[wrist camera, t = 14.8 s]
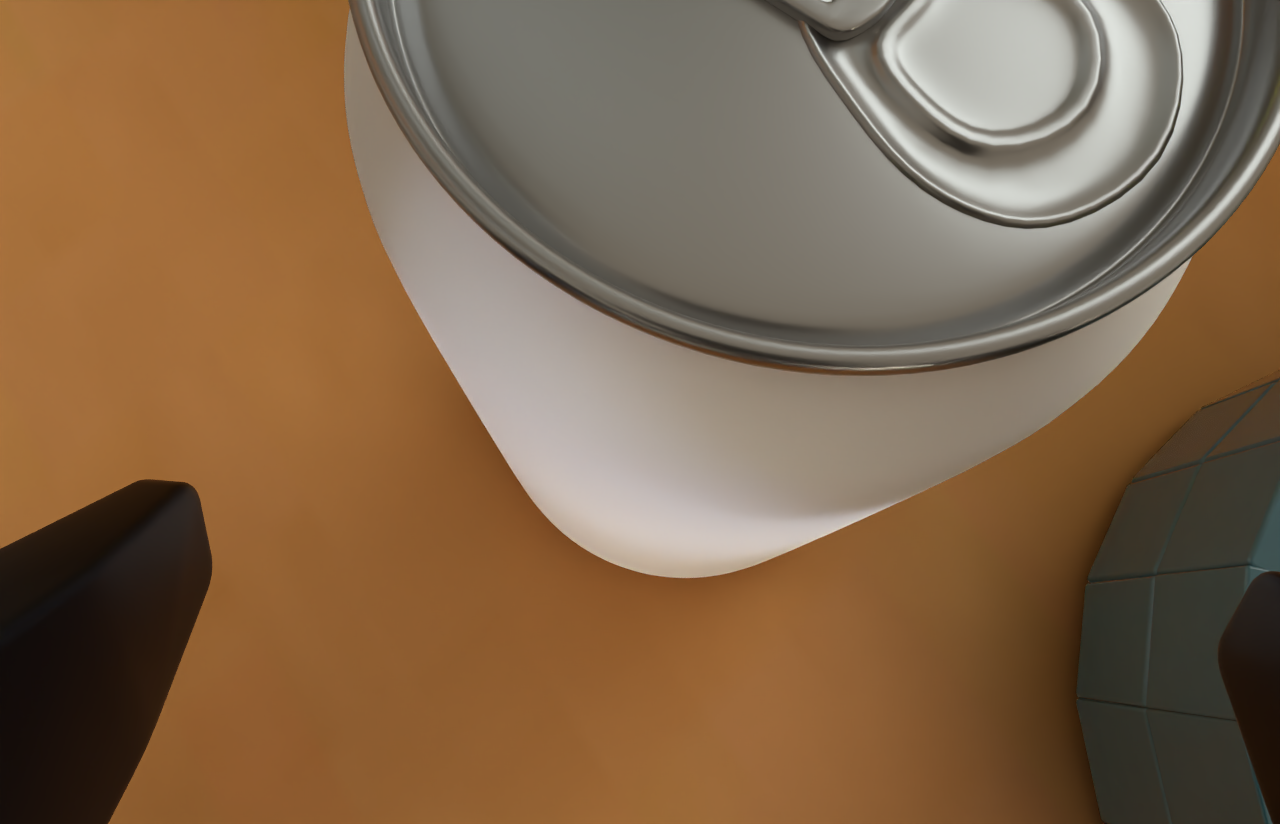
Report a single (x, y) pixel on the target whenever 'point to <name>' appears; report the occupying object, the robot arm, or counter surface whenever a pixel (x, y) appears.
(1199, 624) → the bowl
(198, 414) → the counter surface
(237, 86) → the counter surface
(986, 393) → the can
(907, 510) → the counter surface
